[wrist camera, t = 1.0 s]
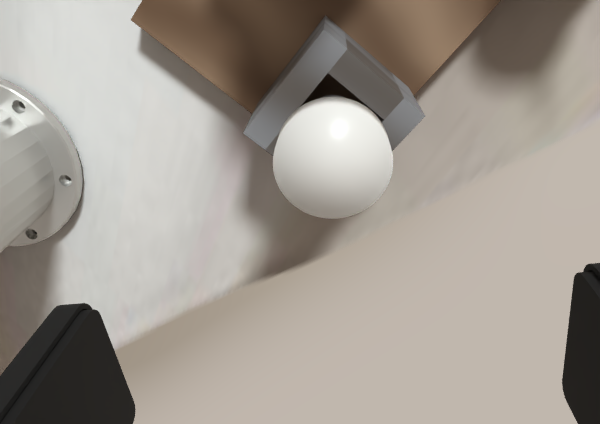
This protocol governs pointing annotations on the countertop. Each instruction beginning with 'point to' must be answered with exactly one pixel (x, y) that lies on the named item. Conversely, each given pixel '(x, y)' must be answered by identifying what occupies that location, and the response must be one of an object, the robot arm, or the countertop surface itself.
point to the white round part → (332, 158)
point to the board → (315, 52)
